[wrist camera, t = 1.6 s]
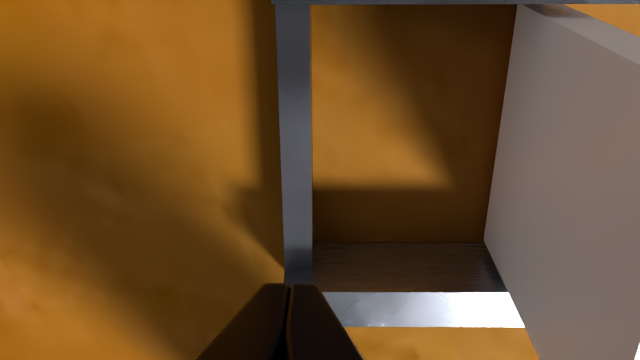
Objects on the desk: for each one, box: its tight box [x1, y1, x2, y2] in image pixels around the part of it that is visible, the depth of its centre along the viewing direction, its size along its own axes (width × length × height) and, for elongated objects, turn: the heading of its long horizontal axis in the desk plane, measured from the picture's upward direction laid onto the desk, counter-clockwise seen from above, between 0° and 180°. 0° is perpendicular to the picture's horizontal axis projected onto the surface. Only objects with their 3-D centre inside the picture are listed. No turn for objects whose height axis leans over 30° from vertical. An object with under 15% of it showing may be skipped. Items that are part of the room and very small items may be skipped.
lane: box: [271, 0, 640, 327], centre depth 15 cm, size 16×10×2 cm, turn 90°
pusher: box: [484, 4, 640, 360], centre depth 12 cm, size 1×7×8 cm, turn 0°
